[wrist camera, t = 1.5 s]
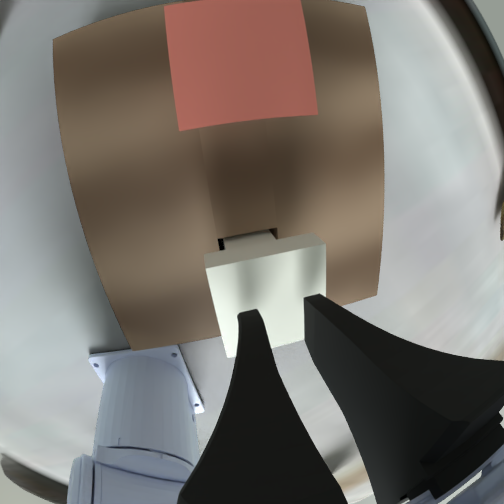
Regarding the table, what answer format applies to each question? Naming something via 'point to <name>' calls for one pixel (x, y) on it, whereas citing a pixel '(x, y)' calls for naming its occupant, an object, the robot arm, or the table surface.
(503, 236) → the ceramic sculpture
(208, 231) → the panel
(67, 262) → the table surface
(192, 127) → the red button
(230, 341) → the cream button
